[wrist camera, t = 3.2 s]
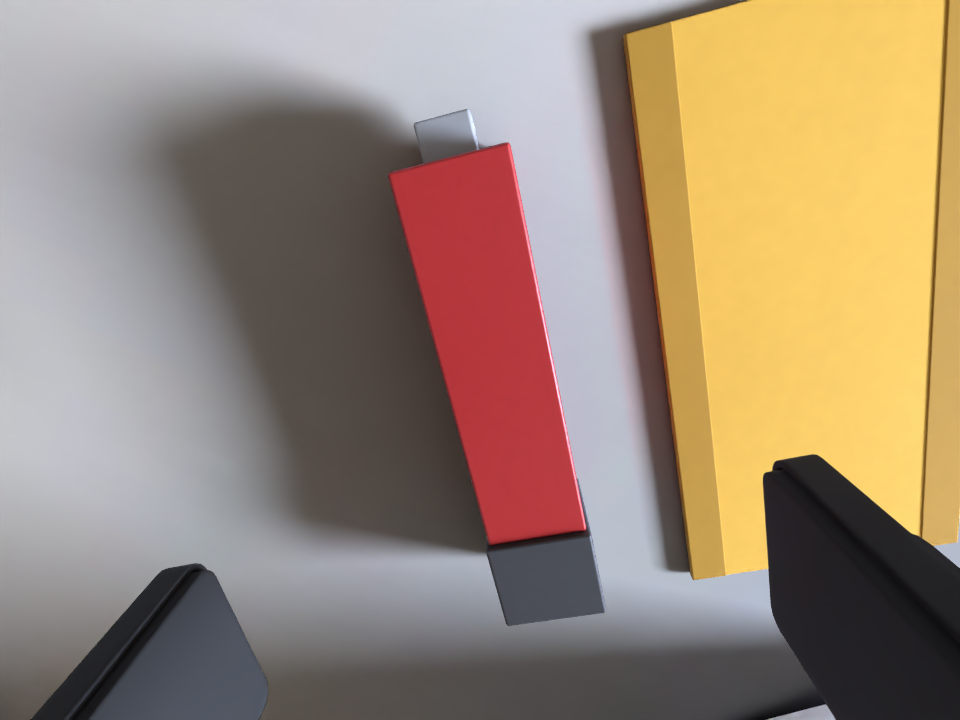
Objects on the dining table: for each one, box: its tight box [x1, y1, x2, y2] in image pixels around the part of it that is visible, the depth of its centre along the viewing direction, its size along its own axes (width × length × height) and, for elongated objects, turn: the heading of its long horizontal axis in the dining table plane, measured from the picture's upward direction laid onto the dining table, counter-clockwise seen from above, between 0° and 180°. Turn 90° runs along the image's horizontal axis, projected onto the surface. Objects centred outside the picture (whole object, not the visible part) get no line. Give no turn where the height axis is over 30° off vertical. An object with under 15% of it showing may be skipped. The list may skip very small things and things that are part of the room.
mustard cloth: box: [623, 0, 960, 580], centre depth 16 cm, size 9×18×1 cm, turn 13°
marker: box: [388, 109, 606, 626], centre depth 15 cm, size 3×15×3 cm, turn 13°
